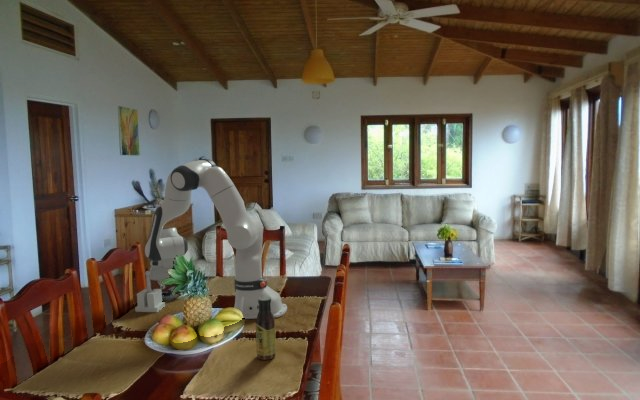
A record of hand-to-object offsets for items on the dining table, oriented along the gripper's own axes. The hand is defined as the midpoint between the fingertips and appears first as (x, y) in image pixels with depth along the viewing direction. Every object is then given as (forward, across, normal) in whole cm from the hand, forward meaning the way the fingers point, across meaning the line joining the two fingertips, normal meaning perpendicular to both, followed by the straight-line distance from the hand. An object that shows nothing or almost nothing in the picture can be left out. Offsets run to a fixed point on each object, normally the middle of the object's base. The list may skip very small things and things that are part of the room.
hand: (172, 288), depth 217 cm
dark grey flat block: (+3, 0, +4) cm, 5 cm away
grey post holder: (+3, 0, +20) cm, 21 cm away
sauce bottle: (+3, -63, +62) cm, 88 cm away
